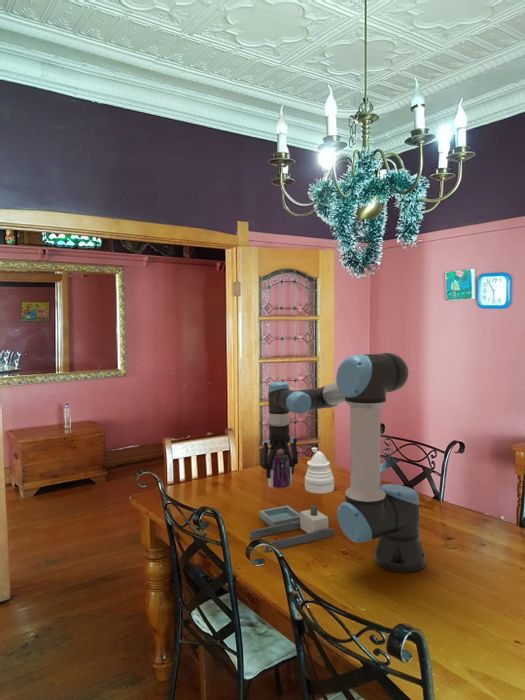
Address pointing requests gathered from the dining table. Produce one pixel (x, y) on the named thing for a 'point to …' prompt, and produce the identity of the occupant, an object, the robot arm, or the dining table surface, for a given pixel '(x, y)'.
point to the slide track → (291, 540)
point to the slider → (313, 520)
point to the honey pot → (319, 474)
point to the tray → (279, 516)
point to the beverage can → (281, 471)
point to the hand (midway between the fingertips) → (280, 484)
